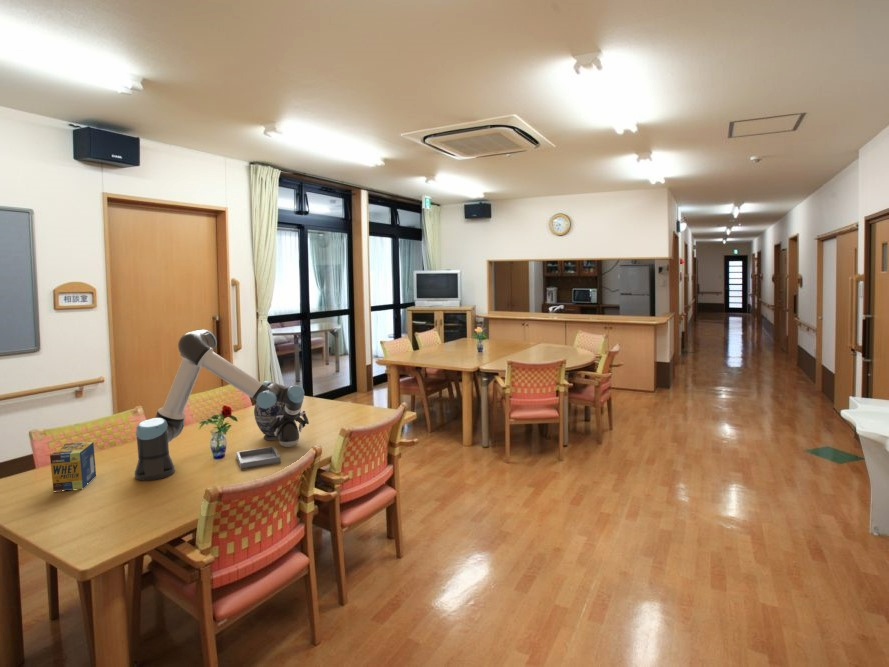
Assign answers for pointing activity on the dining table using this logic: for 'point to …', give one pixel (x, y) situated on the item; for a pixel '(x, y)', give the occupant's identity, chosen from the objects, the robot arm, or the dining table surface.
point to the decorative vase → (268, 418)
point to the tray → (258, 457)
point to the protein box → (73, 466)
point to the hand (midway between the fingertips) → (287, 431)
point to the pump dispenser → (288, 434)
